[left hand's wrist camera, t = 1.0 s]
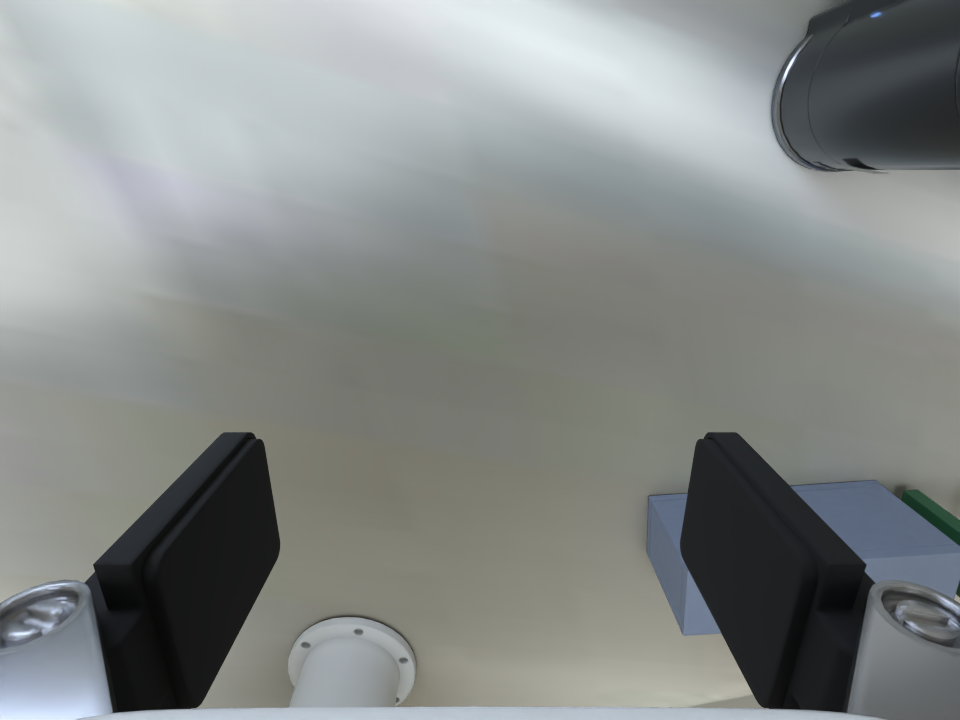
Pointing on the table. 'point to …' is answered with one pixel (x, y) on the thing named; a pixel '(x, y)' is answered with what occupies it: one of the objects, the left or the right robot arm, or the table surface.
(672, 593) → the blue-grey rectangular block
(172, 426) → the table surface
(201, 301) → the table surface
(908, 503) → the drawer
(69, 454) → the table surface
